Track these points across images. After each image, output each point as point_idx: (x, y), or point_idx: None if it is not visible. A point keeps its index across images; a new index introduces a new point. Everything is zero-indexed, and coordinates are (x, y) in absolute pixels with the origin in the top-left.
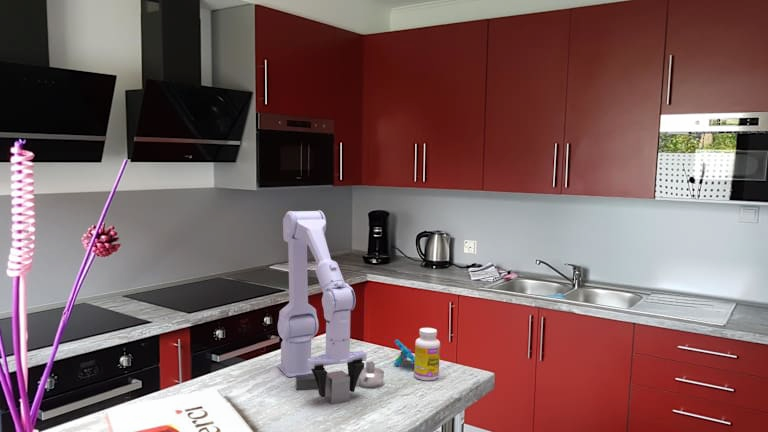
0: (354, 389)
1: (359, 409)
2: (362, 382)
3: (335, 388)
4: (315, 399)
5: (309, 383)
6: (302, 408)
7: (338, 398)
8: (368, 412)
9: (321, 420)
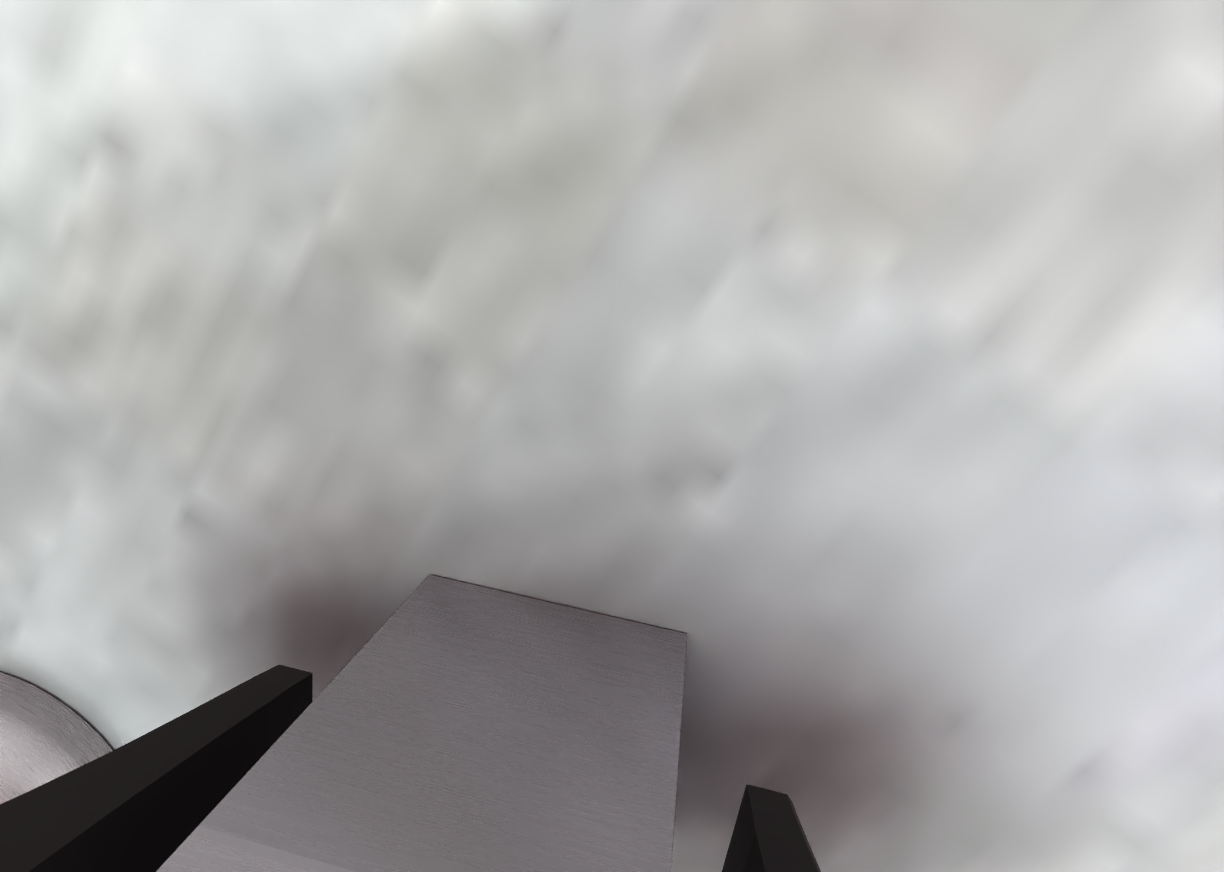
0: (247, 682)
1: (444, 268)
2: None
3: (592, 807)
4: None
5: None
6: (1108, 769)
7: (572, 650)
8: (379, 86)
9: (1221, 251)
